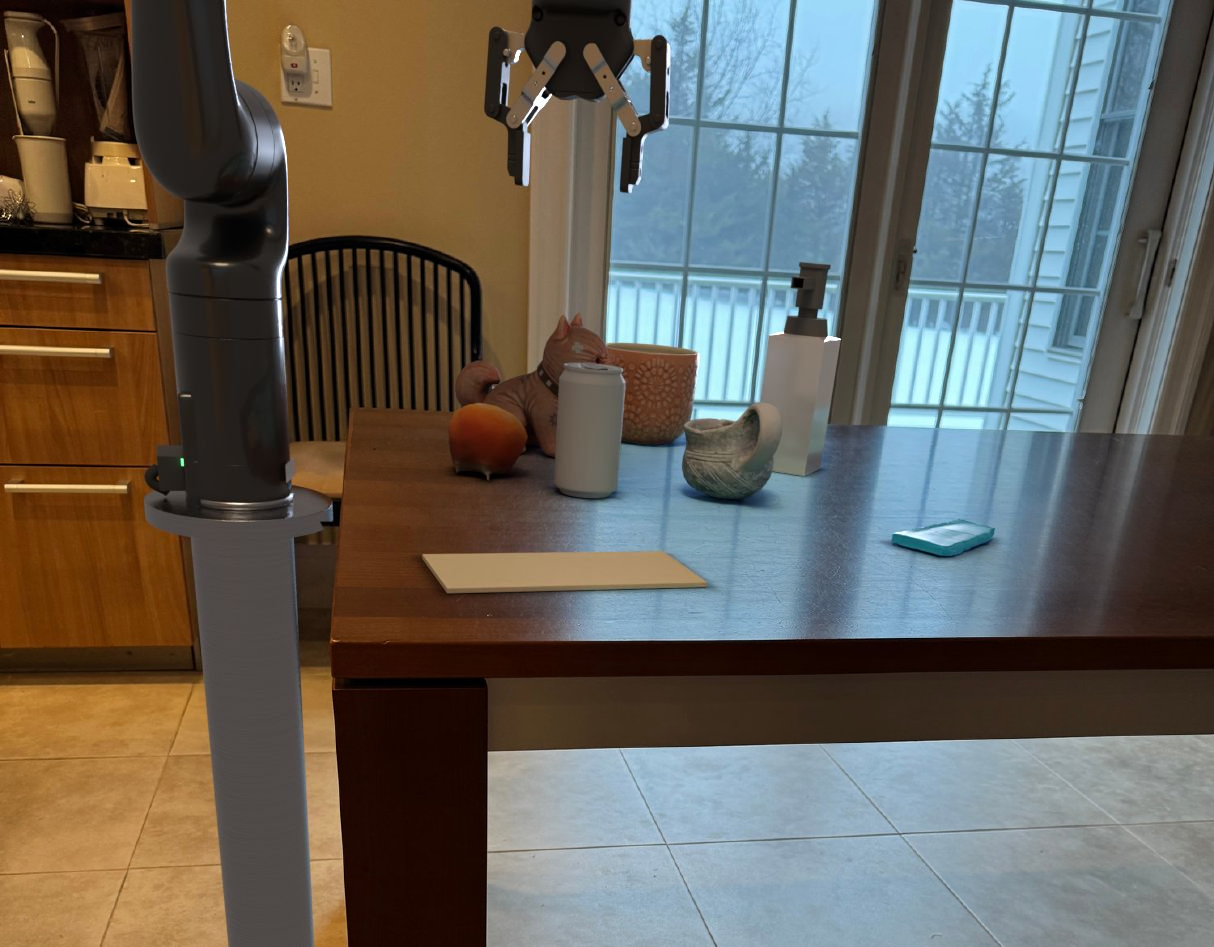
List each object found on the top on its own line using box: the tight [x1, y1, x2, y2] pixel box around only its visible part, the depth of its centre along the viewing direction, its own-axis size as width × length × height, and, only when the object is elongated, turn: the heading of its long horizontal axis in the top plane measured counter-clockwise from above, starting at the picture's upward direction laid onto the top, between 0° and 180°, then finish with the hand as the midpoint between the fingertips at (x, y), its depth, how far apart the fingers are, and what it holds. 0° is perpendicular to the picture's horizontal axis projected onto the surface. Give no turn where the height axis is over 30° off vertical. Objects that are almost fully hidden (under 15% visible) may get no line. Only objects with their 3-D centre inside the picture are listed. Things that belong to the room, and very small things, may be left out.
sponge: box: [891, 518, 996, 557], centre depth 105 cm, size 2×12×6 cm
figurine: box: [454, 312, 617, 458], centre depth 129 cm, size 10×19×15 cm, turn 72°
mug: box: [681, 402, 782, 500], centre depth 113 cm, size 10×12×10 cm
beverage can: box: [553, 363, 626, 499], centre depth 110 cm, size 6×6×12 cm
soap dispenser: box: [759, 261, 842, 477], centre depth 128 cm, size 6×9×22 cm
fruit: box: [447, 403, 528, 482], centre depth 116 cm, size 8×8×8 cm
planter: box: [605, 342, 701, 445], centre depth 142 cm, size 12×12×11 cm
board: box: [421, 550, 708, 594], centre depth 86 cm, size 20×9×1 cm, turn 109°
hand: (573, 188), depth 90 cm, fingers open, 8 cm apart
